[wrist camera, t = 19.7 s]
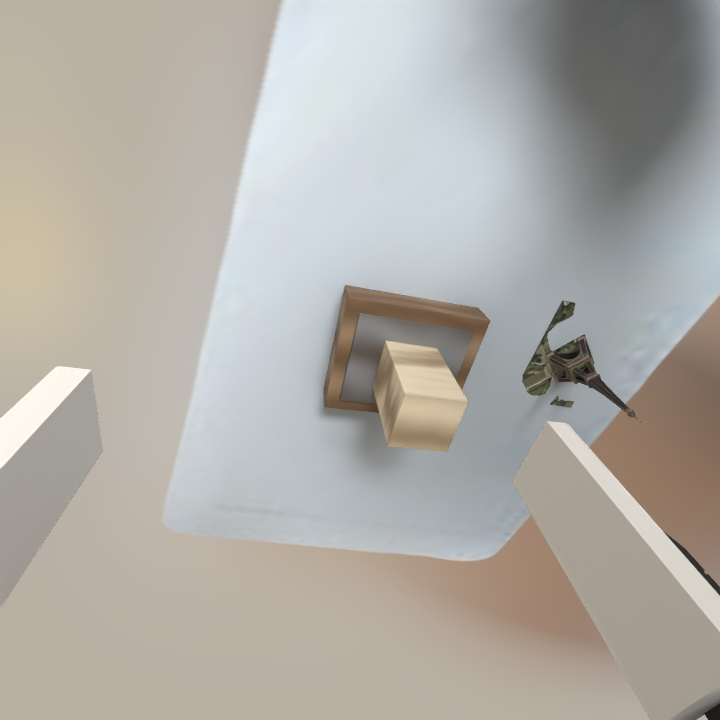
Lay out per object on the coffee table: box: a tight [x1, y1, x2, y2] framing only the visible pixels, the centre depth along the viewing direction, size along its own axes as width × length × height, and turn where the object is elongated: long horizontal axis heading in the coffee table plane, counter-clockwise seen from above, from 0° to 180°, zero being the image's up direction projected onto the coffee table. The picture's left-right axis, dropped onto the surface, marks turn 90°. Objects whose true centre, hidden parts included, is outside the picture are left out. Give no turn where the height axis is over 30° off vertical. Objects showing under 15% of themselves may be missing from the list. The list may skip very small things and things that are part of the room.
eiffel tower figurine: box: [522, 301, 640, 421], centre depth 46 cm, size 15×10×13 cm
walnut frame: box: [324, 285, 490, 413], centre depth 46 cm, size 14×16×4 cm
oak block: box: [373, 341, 468, 452], centre depth 40 cm, size 6×6×10 cm
